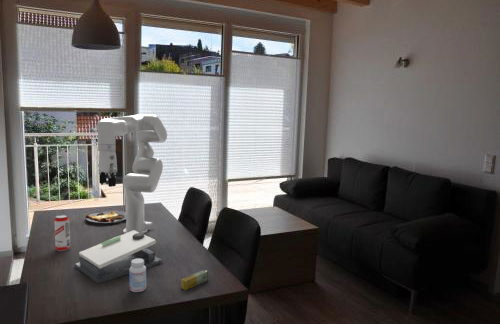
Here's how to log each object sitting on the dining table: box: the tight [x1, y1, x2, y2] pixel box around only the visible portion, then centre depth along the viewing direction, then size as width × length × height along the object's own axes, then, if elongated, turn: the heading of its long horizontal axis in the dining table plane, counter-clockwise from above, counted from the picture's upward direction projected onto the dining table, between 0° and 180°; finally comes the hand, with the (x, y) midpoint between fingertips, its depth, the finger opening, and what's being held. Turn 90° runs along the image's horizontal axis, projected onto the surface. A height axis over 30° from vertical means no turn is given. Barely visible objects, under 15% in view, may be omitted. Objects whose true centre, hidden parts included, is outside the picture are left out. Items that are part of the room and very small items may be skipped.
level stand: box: [74, 247, 163, 284], centre depth 174 cm, size 29×21×5 cm
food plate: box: [85, 210, 126, 224], centre depth 238 cm, size 25×23×4 cm
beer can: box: [53, 214, 71, 252], centre depth 189 cm, size 6×6×16 cm
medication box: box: [180, 269, 209, 291], centre depth 158 cm, size 12×3×4 cm, turn 139°
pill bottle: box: [128, 258, 147, 293], centre depth 152 cm, size 6×6×11 cm
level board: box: [78, 230, 157, 268], centre depth 173 cm, size 26×18×3 cm
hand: (107, 184), depth 187 cm, fingers open, 9 cm apart
